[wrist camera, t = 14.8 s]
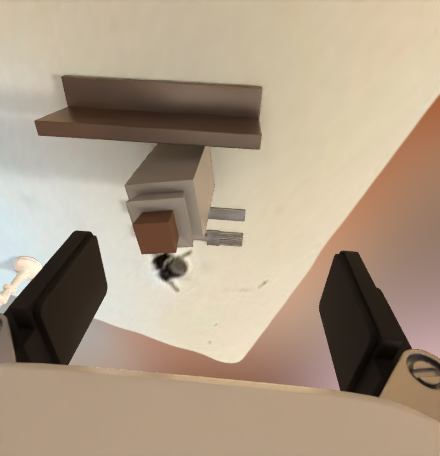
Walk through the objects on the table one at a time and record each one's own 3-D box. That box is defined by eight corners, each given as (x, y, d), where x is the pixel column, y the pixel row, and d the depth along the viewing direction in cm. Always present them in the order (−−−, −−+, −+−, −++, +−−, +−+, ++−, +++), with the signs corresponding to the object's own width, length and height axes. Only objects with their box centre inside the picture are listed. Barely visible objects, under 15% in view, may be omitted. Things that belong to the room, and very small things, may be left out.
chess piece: (12, 255, 53) (-32, 296, 45) (39, 257, 53) (0, 299, 45) (21, 276, 56) (-19, 319, 48) (47, 278, 56) (12, 321, 47)
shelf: (64, 75, 37) (23, 85, 30) (262, 86, 36) (265, 99, 29) (73, 118, 39) (38, 135, 33) (257, 129, 39) (259, 149, 32)
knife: (132, 200, 46) (130, 203, 45) (245, 208, 45) (245, 212, 44) (134, 213, 47) (132, 216, 46) (244, 221, 46) (244, 224, 45)
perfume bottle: (168, 188, 44) (128, 269, 29) (158, 142, 40) (106, 208, 25) (214, 184, 43) (198, 266, 28) (208, 137, 40) (185, 202, 24)
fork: (142, 225, 48) (140, 228, 47) (243, 232, 47) (243, 236, 46) (143, 238, 49) (141, 242, 48) (241, 246, 49) (241, 249, 48)
